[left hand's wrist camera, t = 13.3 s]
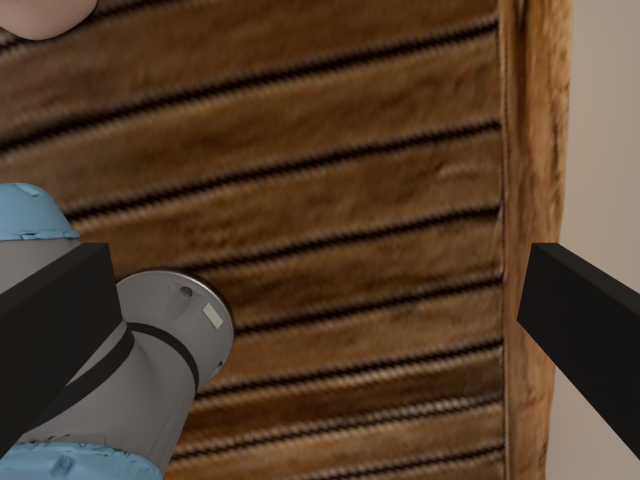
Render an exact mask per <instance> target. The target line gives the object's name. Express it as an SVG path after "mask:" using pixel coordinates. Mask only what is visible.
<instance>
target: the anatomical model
mask: <svg viewBox="0 0 640 480" xmlns="http://www.w3.org/2000/svg"><path fill="white" fill-rule="evenodd" d="M96 3H97V0H0V26H1V27H3V28H4V29H6V30H8V31H9V32H11V33H13V34H15V35H17V36H20V37H22V38H26V39H31V40H43V39H48V38H52V37H55V36H58V35H60V34H62V33H64V32H66V31H68V30H69V29H71V28H73V27H74V26H76V25H77V24H79V23H80V22H82V21H83V20H84V19H85V18H86V17H87V16H89V14H90V13H91V12H92V11H93V10H94V8H95V6H96Z"/></svg>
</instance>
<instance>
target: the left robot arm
mask: <svg viewBox="0 0 640 480" xmlns="http://www.w3.org/2000/svg"><path fill="white" fill-rule="evenodd" d="M79 238H80V234H79V233H78V232H77V231H74V230H73V228H72V227H71V225H70V224H69V222H68V221H67V219H66V218H65V216H64V215H63V213H62V212H61V210H60V209H59V207H58V205H57V204H56V202H55V201H54V199H53V198H52V197H51V196H50V194H48V193H47V192H46V191H45V190H43V189H42V188H40V187H37V186H35V185H31V184H27V183H4V184H0V480H163V477H164V474H165V471H166V469H167V466H168V464H169V461H170V459H171V456H172V454H173V451H174V449H175V446H176V443H177V441H178V438H179V436H180V433H181V431H182V428H183V426H184V423H185V421H186V418H187V416H188V413H189V410H190V408H191V405H192V403H193V400H194V398H195V395H196V393H197V392H198V391H199V390H200V389H202V388H203V387H204V386H205V385H206V384H207V383H208V382H209V381H210V379H211V378H213V377H214V376H215V375H216V374H217V373H218V372H219V371H220V369H221V368H222V367H223V365H224V364H225V362H226V360H227V359H228V357H229V355H230V352H231V349H232V346H233V343H234V339H235V321H234V317H233V314H232V311H231V309H230V306H229V305H228V303H227V301H226V300H225V298H224V297H223V295H222V294H221V293H220V292H219V291H218V290H217V289H216V288H215V287H214V286H213V285H211V284H210V283H209V282H208V281H206V280H205V279H203V278H201V277H199V276H198V275H196V274H193V273H191V272H188V271H185V270H182V269H178V268H172V267H150V268H145V269H142V270H138V271H136V272H134V273H131V274H130V275H128V276H126V277H125V278H123V279H122V280H121V281H120V282H119V283H118V284H116V282H115V276H114V271H113V266H112V261H111V256H110V251H109V246H108V243H82V244H81V242H80V240H79ZM517 321H518V322H519V323H520V325H521V326H522V327H523V328H524V329H525V330H526V331H527V332H528V334H529V335H530V336H531V337H532V338H533V339H534V340H535V342H536V343H537V344H538V345H539V346H540V347H541V348H542V350H543V351H544V352H545V353H546V354H547V355H548V356H549V358H550V359H551V360H552V361H553V362H554V363H555V364H556V365H557V367H558V368H559V369H560V370H561V371H562V372H563V373H564V375H565V376H566V377H567V378H568V379H569V380H570V381H571V383H572V384H573V385H574V386H575V387H576V388H577V389H578V390H579V392H580V393H581V394H582V395H583V396H584V397H585V399H586V400H587V401H588V402H589V403H590V404H591V405H592V406H593V408H594V409H595V410H596V411H597V412H598V413H599V414H600V416H601V417H602V418H603V419H604V420H605V421H606V422H607V424H608V425H609V426H610V427H611V428H612V429H613V430H614V432H615V433H616V434H617V435H618V436H619V437H620V438H621V439H622V441H623V442H624V443H625V444H626V445H627V446H628V447H629V449H630V450H631V451H632V452H633V453H634V454H635V455H636V456H637V458H638V459H639V460H640V294H639V293H637V292H636V291H634V290H632V289H631V288H629V287H627V286H626V285H624V284H623V283H621V282H619V281H618V280H616V279H614V278H613V277H611V276H610V275H608V274H606V273H605V272H603V271H602V270H600V269H598V268H597V267H595V266H593V265H592V264H590V263H589V262H587V261H585V260H584V259H582V258H581V257H579V256H577V255H576V254H574V253H572V252H571V251H569V250H568V249H566V248H564V247H563V246H561V245H560V244H558V243H532V246H531V251H530V256H529V261H528V266H527V271H526V276H525V282H524V287H523V292H522V297H521V302H520V307H519V312H518V317H517Z"/></svg>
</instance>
